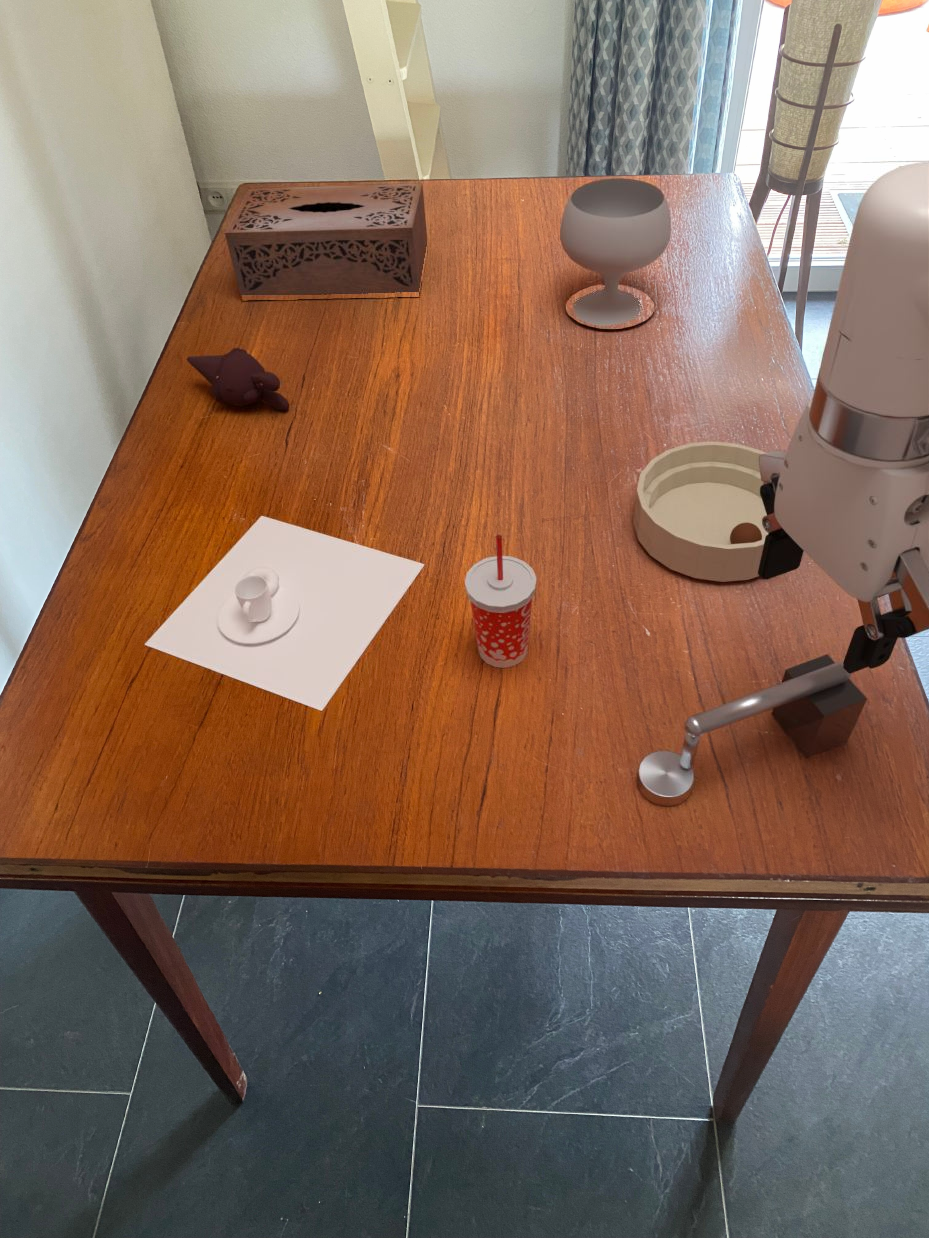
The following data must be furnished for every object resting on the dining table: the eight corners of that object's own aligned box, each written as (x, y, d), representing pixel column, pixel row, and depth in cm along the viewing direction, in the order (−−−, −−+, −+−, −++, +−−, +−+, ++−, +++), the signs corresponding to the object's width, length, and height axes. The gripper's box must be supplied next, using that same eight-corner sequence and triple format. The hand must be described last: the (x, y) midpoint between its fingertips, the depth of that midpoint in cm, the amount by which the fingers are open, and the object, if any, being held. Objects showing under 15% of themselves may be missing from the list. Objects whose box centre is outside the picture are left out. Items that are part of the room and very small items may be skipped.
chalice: (675, 329, 119) (689, 215, 108) (570, 342, 118) (574, 228, 107) (646, 278, 129) (656, 168, 117) (549, 290, 128) (550, 181, 117)
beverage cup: (506, 685, 81) (502, 574, 70) (456, 651, 84) (445, 540, 73) (550, 645, 84) (552, 533, 73) (500, 614, 87) (495, 502, 76)
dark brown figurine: (158, 359, 109) (257, 399, 105) (195, 317, 112) (293, 355, 107) (180, 398, 115) (275, 437, 111) (214, 357, 118) (308, 394, 113)
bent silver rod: (812, 700, 78) (834, 643, 72) (844, 739, 75) (869, 682, 69) (627, 770, 74) (634, 715, 69) (653, 814, 71) (663, 760, 66)
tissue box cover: (242, 301, 131) (224, 233, 123) (263, 254, 140) (248, 188, 133) (419, 297, 129) (412, 228, 121) (428, 250, 138) (422, 182, 131)
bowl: (738, 463, 100) (745, 426, 96) (829, 556, 89) (842, 518, 86) (606, 504, 96) (609, 467, 93) (685, 605, 86) (691, 568, 82)
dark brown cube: (810, 698, 78) (827, 653, 74) (847, 742, 75) (867, 698, 70) (771, 713, 77) (785, 669, 73) (806, 759, 74) (823, 715, 70)
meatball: (747, 555, 91) (748, 526, 91) (768, 553, 88) (769, 522, 88) (723, 553, 90) (724, 523, 90) (743, 550, 87) (743, 519, 87)
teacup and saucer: (253, 572, 92) (244, 543, 89) (319, 594, 90) (312, 564, 87) (201, 632, 87) (190, 603, 84) (270, 656, 85) (261, 627, 82)
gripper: (1058, 474, 46) (951, 686, 58) (841, 321, 57) (791, 526, 70) (935, 518, 44) (853, 725, 57) (737, 352, 56) (705, 555, 68)
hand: (819, 615), depth 63 cm, fingers open, 9 cm apart
